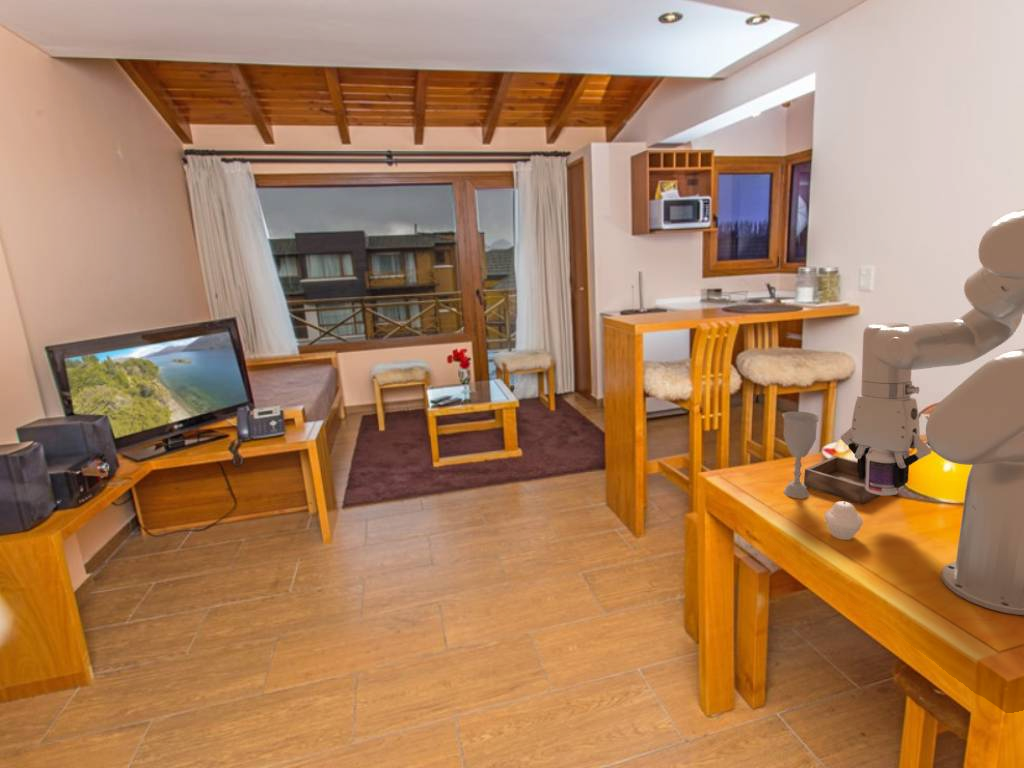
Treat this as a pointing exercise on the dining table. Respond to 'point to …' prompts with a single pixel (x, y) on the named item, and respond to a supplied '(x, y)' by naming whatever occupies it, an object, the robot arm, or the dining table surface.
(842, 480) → the walnut box
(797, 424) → the chalice
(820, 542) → the dining table surface
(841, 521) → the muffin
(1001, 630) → the dining table surface
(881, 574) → the dining table surface
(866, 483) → the pill bottle
